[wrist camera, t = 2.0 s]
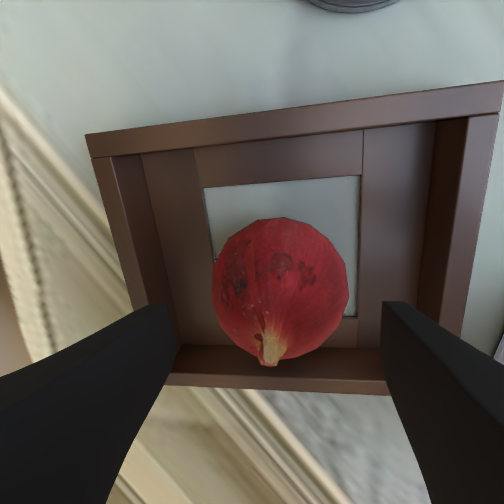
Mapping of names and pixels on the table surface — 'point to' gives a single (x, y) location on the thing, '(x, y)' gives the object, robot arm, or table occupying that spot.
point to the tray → (298, 168)
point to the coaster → (352, 5)
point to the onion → (279, 289)
